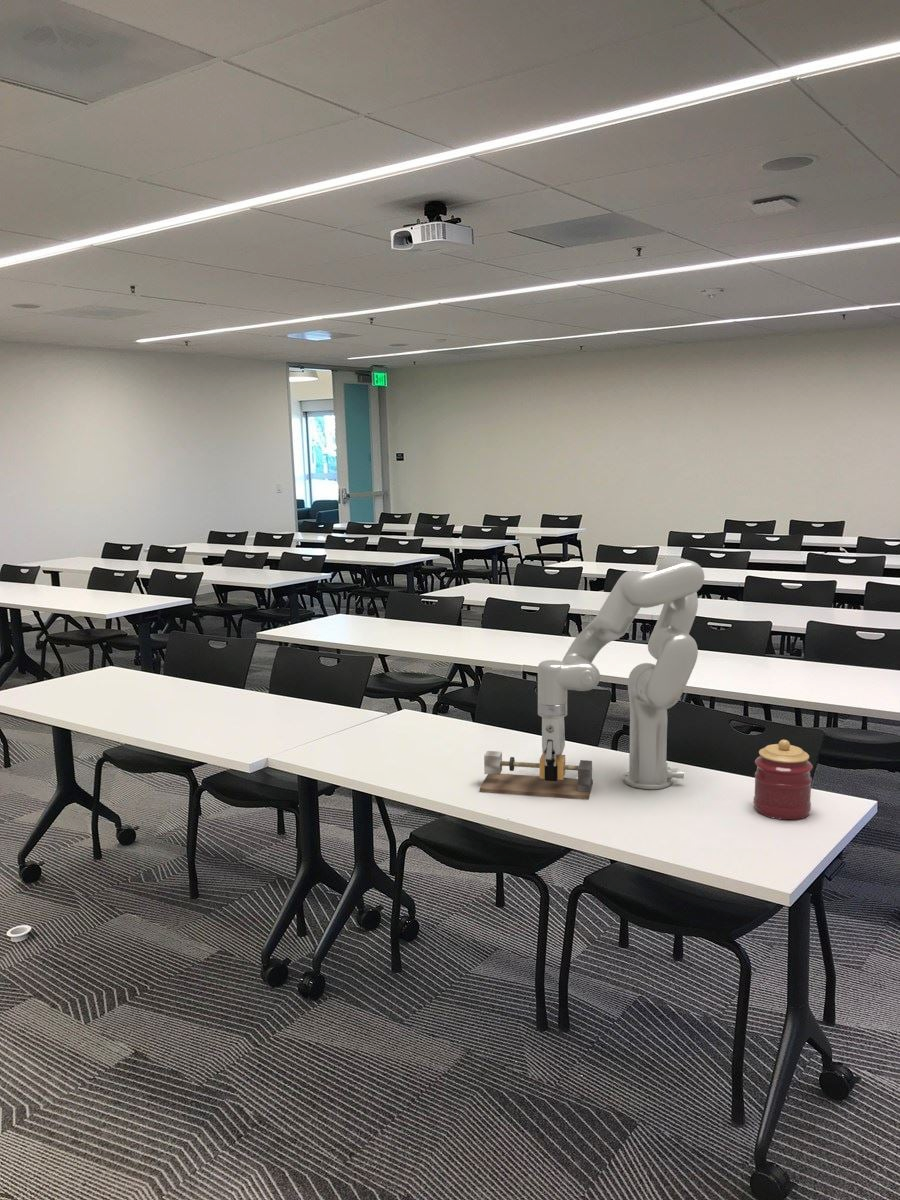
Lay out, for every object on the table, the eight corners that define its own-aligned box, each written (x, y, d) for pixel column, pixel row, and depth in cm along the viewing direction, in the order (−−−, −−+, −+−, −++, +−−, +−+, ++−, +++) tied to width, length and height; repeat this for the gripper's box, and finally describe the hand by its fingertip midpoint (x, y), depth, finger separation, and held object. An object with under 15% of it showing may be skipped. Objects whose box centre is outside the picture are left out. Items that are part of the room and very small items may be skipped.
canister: (806, 824, 209) (809, 751, 206) (748, 815, 215) (750, 743, 212) (814, 805, 220) (817, 736, 217) (758, 797, 226) (761, 729, 223)
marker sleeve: (565, 773, 236) (565, 754, 235) (562, 779, 231) (563, 761, 230) (542, 771, 237) (542, 753, 236) (539, 778, 232) (539, 759, 231)
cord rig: (592, 783, 238) (593, 752, 237) (588, 799, 226) (588, 767, 225) (488, 776, 245) (488, 746, 243) (479, 791, 233) (479, 760, 232)
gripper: (563, 718, 222) (563, 789, 225) (570, 700, 239) (570, 766, 241) (533, 717, 224) (533, 787, 227) (542, 699, 240) (542, 765, 243)
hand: (552, 776), depth 234 cm, fingers closed on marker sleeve, 5 cm apart
